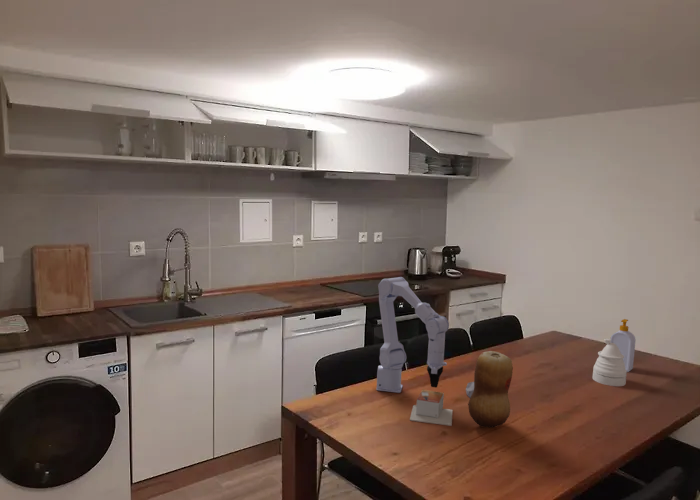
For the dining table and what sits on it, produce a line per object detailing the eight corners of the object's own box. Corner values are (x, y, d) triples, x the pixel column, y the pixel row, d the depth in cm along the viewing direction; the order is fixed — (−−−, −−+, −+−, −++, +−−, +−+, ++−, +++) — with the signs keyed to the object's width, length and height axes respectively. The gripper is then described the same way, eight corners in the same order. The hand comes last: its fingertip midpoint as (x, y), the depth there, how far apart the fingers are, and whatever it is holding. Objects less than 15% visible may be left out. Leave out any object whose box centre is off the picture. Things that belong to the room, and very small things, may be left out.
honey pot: (593, 383, 218) (597, 341, 216) (591, 373, 230) (595, 334, 228) (627, 388, 214) (631, 346, 212) (623, 378, 225) (627, 338, 223)
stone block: (467, 403, 197) (494, 401, 195) (465, 391, 196) (492, 388, 195) (466, 393, 208) (491, 390, 206) (464, 381, 208) (490, 379, 206)
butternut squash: (502, 438, 164) (507, 362, 162) (461, 427, 171) (466, 354, 169) (513, 423, 176) (518, 352, 173) (475, 413, 183) (479, 344, 180)
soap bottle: (633, 369, 239) (638, 320, 236) (628, 372, 234) (633, 322, 231) (612, 364, 245) (616, 316, 242) (607, 367, 240) (612, 319, 237)
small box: (444, 392, 186) (439, 403, 176) (443, 407, 187) (438, 418, 177) (422, 388, 189) (416, 399, 179) (421, 403, 189) (415, 414, 179)
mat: (409, 420, 175) (409, 419, 175) (413, 406, 188) (413, 405, 188) (451, 425, 172) (451, 424, 172) (452, 410, 185) (452, 409, 185)
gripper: (446, 357, 178) (444, 395, 179) (448, 345, 192) (446, 380, 193) (426, 355, 179) (424, 393, 181) (428, 343, 193) (427, 378, 195)
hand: (434, 386), depth 187 cm, fingers closed
